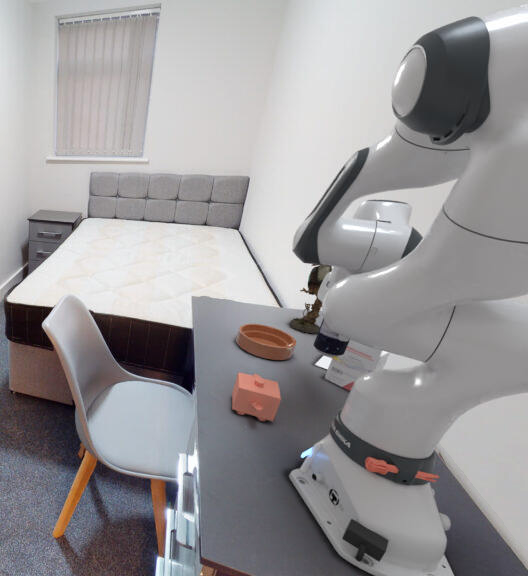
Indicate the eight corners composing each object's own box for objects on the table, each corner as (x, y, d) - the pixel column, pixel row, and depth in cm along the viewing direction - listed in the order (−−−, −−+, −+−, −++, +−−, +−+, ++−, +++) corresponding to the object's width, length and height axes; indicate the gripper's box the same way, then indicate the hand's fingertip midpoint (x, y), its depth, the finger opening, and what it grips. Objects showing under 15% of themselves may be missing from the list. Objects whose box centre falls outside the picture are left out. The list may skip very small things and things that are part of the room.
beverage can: (348, 360, 83) (368, 312, 79) (320, 356, 84) (339, 309, 80) (333, 347, 88) (352, 302, 84) (307, 344, 89) (324, 299, 85)
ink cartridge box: (373, 392, 92) (397, 341, 86) (362, 397, 90) (386, 345, 84) (333, 373, 99) (354, 325, 93) (323, 378, 97) (343, 328, 91)
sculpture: (280, 329, 121) (304, 257, 112) (296, 318, 129) (320, 250, 120) (309, 340, 115) (337, 264, 106) (325, 328, 123) (352, 256, 114)
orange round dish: (298, 365, 102) (303, 351, 100) (241, 355, 106) (245, 342, 104) (282, 341, 114) (287, 328, 113) (231, 332, 119) (235, 320, 117)
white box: (314, 364, 102) (315, 362, 102) (323, 355, 107) (324, 353, 107) (351, 378, 96) (352, 376, 96) (359, 368, 101) (360, 366, 101)
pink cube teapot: (231, 421, 81) (240, 391, 78) (231, 391, 91) (239, 363, 88) (273, 434, 78) (284, 403, 75) (268, 401, 87) (278, 372, 84)
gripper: (320, 261, 90) (302, 312, 95) (363, 289, 71) (338, 351, 77) (352, 264, 88) (331, 316, 93) (403, 294, 70) (375, 357, 75)
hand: (334, 332), depth 84 cm, fingers closed on beverage can, 5 cm apart
